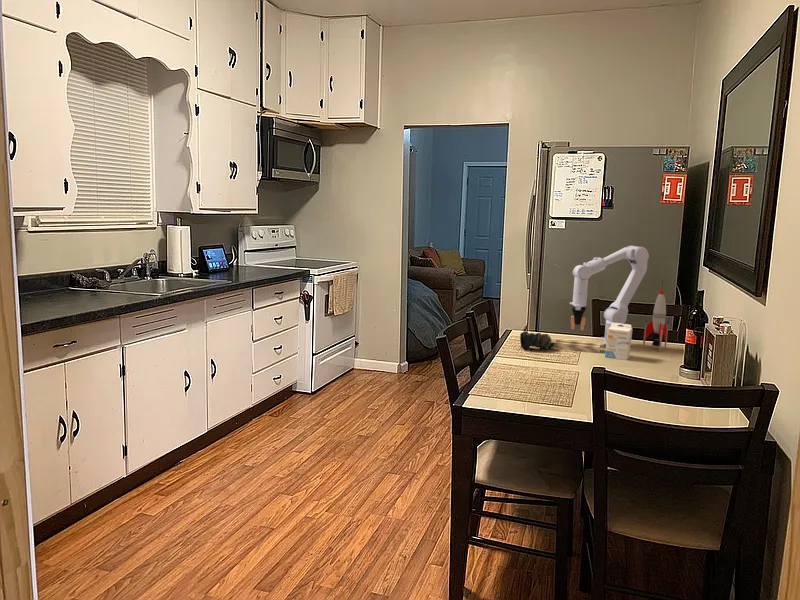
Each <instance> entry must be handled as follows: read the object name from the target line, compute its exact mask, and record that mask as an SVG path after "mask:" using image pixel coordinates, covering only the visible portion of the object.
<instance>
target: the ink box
mask: <svg viewBox="0 0 800 600" xmlns="http://www.w3.org/2000/svg"><path fill="white" fill-rule="evenodd" d="M618 325H623V326H624V327H620V326H618ZM632 335H633V328H632V324H628V323H624V324H621V323H613V322H612V323H611V326H610V327H609V328H608V333H607V343H606V345H605V352H604V353H605V355H604V357H605V358H611V359H618V360H624V361H625V360H626V361H627V360H628V359H629V358H630V354H631V346H632V345H631V344H632V337H633V336H632Z"/></svg>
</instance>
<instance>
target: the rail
mask: <svg viewBox="0 0 800 600" xmlns="http://www.w3.org/2000/svg"><path fill="white" fill-rule="evenodd" d="M551 340H552V341H551V342H554V343H555V344H554V346H553V347H552V348H551V349H555V350H564V349H565V350H567V351H577V352H583V353H584V352H585V353H593V354H595V353H597V354H600V352H601V343H597V342H585V341H575V340H567V339H558V338H557V339H556V338H555V339H554V338H551Z"/></svg>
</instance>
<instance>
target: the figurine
mask: <svg viewBox="0 0 800 600" xmlns="http://www.w3.org/2000/svg"><path fill="white" fill-rule="evenodd" d="M519 335H520V341H519V342H520V348H522V349H524V350H525V351H526V352H527V351H530V350H531V349H530V348H534V347H535V348H537V349H538V348H539V349H540V350H542V349H547V350H551V349H553V348H552V347H553V346H554V344H555V343H554V342H551V341H552V338H551V335H549V334H548V333H541V332H536V333H534V332H530V333H529V332H528V330H527V331H526V330H524V331H522V332H520V334H519Z"/></svg>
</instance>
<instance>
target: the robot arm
mask: <svg viewBox="0 0 800 600" xmlns="http://www.w3.org/2000/svg"><path fill="white" fill-rule="evenodd" d="M649 257H650V254H649V251H648V250H647V248H645V247H644V246H637V245H628V246H626V247H622V248H621V249H619V250H617V251H615V252H613V253H611V254H609V255H607V256H605V257H603V258H602V257H599V256H598V257H597V256H596V257H593V258H592V260H590V261H588V262H583V264H578V265H576V266H575V267H574V268H573V270H572V276H573V277H574V281H573V282H574V283H573V290H572V291H573V293H572V301H570V302H569V305H572V308H571V312H572V314H573V316H574V321H575V325H576V326H581V324H580V323H581V320H582V317H584V316H583V315H584V313H585V312H586V310H587V299H588V286H589V285H588V284H589V279H590V278H591V276H592V275H595V274H597V273H600V272H601V271H605V269H606V267H607V266H609V265H612V264H614V263H616V262H618V261H621V260H627V261H628V262H629V264H630V266H631V269H632V270H631V271H630V273H629V274H628V276H627V279H626V281H625V283H624V285H623V286H622V288H621V290H620V292H619V293H618V295H617V297H616V299H615V301H613V302H611V304H610V305H609V307H607V308H606V309H605V310H604V312H603V318H604V320H605V329H604V336H603V337H604V338H603V340H602V345H604V346H606V343H607V333H608V328H609V327H610V326H611V323H612V322H613V323H621V324H626V321H627V318H628V317H627V316H628V313H629V309H628V306H629V304H631V303H630V302H631V300H632V299H633V297H634V295H635V294H636V292H637V289H638V288H639V285H640V284H641V282H642V280H643V278H644V276H645V275H646V272H647V270H648V260H649ZM575 325H574V326H575ZM618 326H620V327H624V326H623V325H618Z"/></svg>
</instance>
